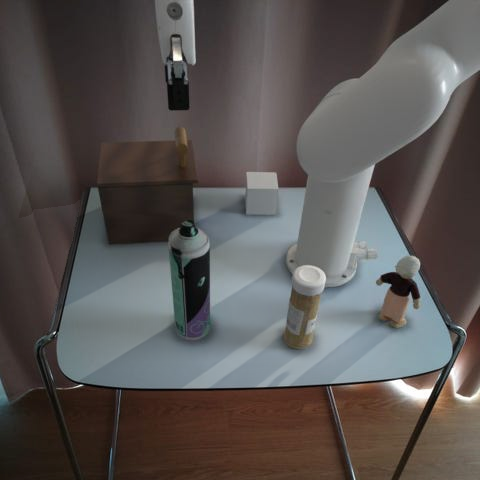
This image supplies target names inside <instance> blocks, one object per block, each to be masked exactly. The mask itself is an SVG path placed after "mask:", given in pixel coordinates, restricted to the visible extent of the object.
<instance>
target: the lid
mask: <svg viewBox="0 0 480 480" xmlns="http://www.w3.org/2000/svg"><path fill="white" fill-rule="evenodd" d="M198 177H199V176H198V170H197V164H196V156H195V150H194V143H193V139H187V131H186V129H185V128H184V127H183V126H177V127H175V129H174V140H151V141H150V140H149V141H146V140H145V141H119V142H118V141H117V142H113V141H112V142H111V141H110V142H101V143H100V153H99V162H98V171H97V181H96V186H97V188H98V187H122V186H147V185H172V184H193V185H195V184H199V178H198Z"/></svg>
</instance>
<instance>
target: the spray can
mask: <svg viewBox="0 0 480 480" xmlns="http://www.w3.org/2000/svg"><path fill="white" fill-rule="evenodd" d="M167 243H168V245H167V247H168V254H169V255H168V258H169V270H170V280H171V281H170V282H171V292H172V305H173V315H174V328H175V332H176V334H177V336H179V338H181V339H183V340H186V341H192V342H195V341H200V340H203V339H204V338H206V337H207V336H208V334H209V333H210V330H211V243H210V237H209V234H208V233H207V231H205V230H204V229H202V228H200V227H197V226H196V223H195V220H194V221H192V220H188V221H185V222H183V223H182V224H181V227H180V228H178V229H176V230H174V231H173V232H172V233H171V234H170V236H169V241H167Z"/></svg>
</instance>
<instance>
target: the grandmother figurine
mask: <svg viewBox="0 0 480 480" xmlns="http://www.w3.org/2000/svg"><path fill="white" fill-rule="evenodd" d="M420 267H421V261H420V259H419V258H418V257H416V256H415V255H406V256H403V257H402V258H400V259H399V260H398V262H397V263H396V264H395V265H394V268H395V271H389V272H386V273H383V274H381V275H380V277H379V278H378V279H377V280H376V281H375V284H376V286H378V287H381V286H383V284H388V285H390V286H389V287H388V289H387V292H386V294H385V296H384V299H383V303H382V306H381V311H380V312H379V314H378V320H380V321H382V322H388V321H389V320H390V319H392V320H391V321H390V323H389V324H390V326H391V327H392V328H395V329H400V328H402V327H405V326H406V325H407V319H406V318H405V316H406V312H407V308H408V306H409V303H410V296H411V299H412V307H413V309H415V310H419V309H420V308H421V304H420V303H421V294H420V290H419V287H418V284H417V282H416V281H415V280H414V279H413V278H414V277H416V276H417V274H418V273H419V271H420V269H421V268H420Z"/></svg>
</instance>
